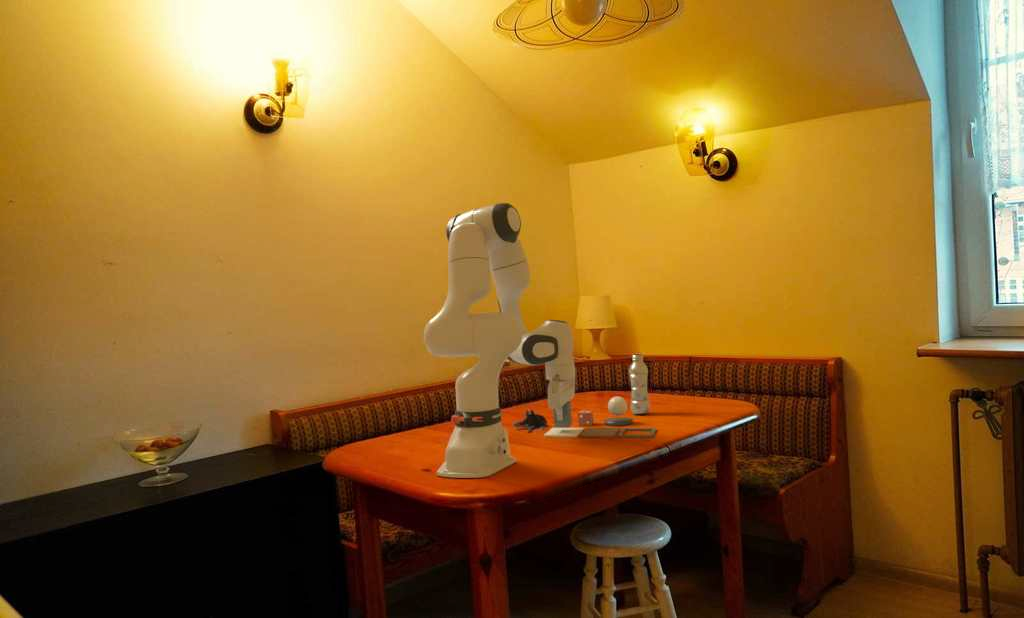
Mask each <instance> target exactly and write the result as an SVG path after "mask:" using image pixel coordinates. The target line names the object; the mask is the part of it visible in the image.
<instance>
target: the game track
mask: <svg viewBox="0 0 1024 618" xmlns="http://www.w3.org/2000/svg"><path fill="white" fill-rule="evenodd" d="M627 431H629V432H650V433H649V434H625V433H626V432H627ZM656 431H657V428H655V427H653V428H651V427H623V428H622V429H620V427H586V428H585V427H551V428H550V429H549V430H548V431H547V432H546V433H544V434H543V436H544V438H577V437H580V438H615V437H616V435H617V438H622V439H623V438H624V439H625V438H629V439H630V438H634V439H637V438H639V439H641V438H642V439H646V438H649V439H652V438H654V436H655V434H656Z"/></svg>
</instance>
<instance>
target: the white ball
mask: <svg viewBox="0 0 1024 618" xmlns="http://www.w3.org/2000/svg"><path fill="white" fill-rule="evenodd" d="M607 403H608V404H607V409H608V411H609V412H610V414H612V415H613V416H617V417H620V416H622V415H624V414H625V413H626V412H627V410H628V402H627V401H626V399H625V398H623V397H622V396H613V397H611V398H610V400H609V401H608V402H607Z"/></svg>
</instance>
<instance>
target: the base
mask: <svg viewBox="0 0 1024 618" xmlns="http://www.w3.org/2000/svg"><path fill="white" fill-rule="evenodd" d="M603 424H604V426H608V425H609V427H624V426H630V425H632V424H634V421H633V418H631V417H627V416H625V417H624V416H623V417H622V416H621V417H620V416H617V417H609V418H606V419H605V418H604V420H603Z"/></svg>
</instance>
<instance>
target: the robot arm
mask: <svg viewBox="0 0 1024 618" xmlns="http://www.w3.org/2000/svg"><path fill="white" fill-rule="evenodd" d="M521 227H522V221H521V217H520V214H519V212H518V209H516V207H515V206H513V205H512V204H511V203H509V202H508V203H507V202H500V203H495V204H494V205H493V204H492V205H486V206H483V207H476V208H473V209H471V210H468V211H466V212H464V213H460V214H455V216H453V217H451V218H450V219H449V220H448V223H447V226H446V229H445V234H446V238H447V241H448V247H447V249H448V250H447V265H448V269H447V270H448V290H447V296H446V299H445V301H444V304H443V305H442V307H441V308H440V310H439V311H438V312H437V313H436V314H435V316H434V317H432V318H431V319H429V321H427V323H426V325H425V327H424V331H423V337H422V338H423V343H424V345H425V348H426V350H427V351H428V352H429V353H430V354H431V355H432V356H437V357H441V358H442V357H443V358H458V357H459V358H460V357H476V358H478V359H477V363H476V364H475V365H474V366H472V367H471V368H468V369H467V370H465V371H463V373H461V374H460V375H459V376H458V377H457V378H456V381H455V384H454V387H455V400H456V401H455V402H456V404H455V405H456V410H455V411H454V415H451V418H450V420H451V422H450V423H452V424H454V428H453V431H452V433H451V435H450V437H449V440H448V443H447V446H446V448H445V461H443V463H442V464H441V466H440V467H439V468H438V470H436V475H437V476H440V477H443V478H444V477H445V478H458V479H459V478H461V479H463V478H464V479H465V478H466V479H468V478H469V479H471V478H473V479H475V478H486V477H490V476H492V475H494V474H496V473H498V472H500V471H502V470H504V469H505V468H507V467H509V466H511V465H513V464H514V463H516V462H517V461H516V457H515V456H512V455H511V451H510V443H509V442H510V441H509V436H508V434H509V433H508V429H506V427H504V425H503V424H502V422H501V421H502V409H501V407H500V405H499V404H500V403H499V402H500V401H499V381H500V380H499V379H500V374H501V370H502V369H503V366H504V364H505V362H506V361H507V360H508V361H509V362H511V363H513V364H514V365H516V364H517V365H527V366H540V365H542V364H544V365H545V366H544V367H545V380H547V381H550V382H549V383H548V385H547V404H548V405H547V406H548V409H550V410H551V409H552V410H553V409H555V411H556V414H557V420H558V421H562V420H563V419H564V414H563V406H564V405H565V404H566V403H567V402H571V400H572V399H574V398H575V394H576V393H575V392H576V375H577V367H575V360H574V359H575V358H574V356H573V355H574V354H573V352H574V338H573V332H572V328H571V325H570V323H569V322H567V321H566V320H559V319H558V320H557V319H547V320H545V321H544V322H543V324H541V325H540V326H539V327H538V328H536V329H533V330H532V331H530V332H528V330H527V329H526V326H525V324H524V320H523V316H522V310H521V304H520V299H521V297H522V295H523V293H524V292H525V291H526V290H527V288H528V287H529V285H530V283H531V271H530V266H529V263H528V260H527V257H526V253H525V250H524V247H523V245H522V243H521V240H520V238H519V236H520V232H521ZM491 276H492V278H491ZM492 280H493V283H494V287H495V292H496V298H497V299H496V300H497V304H498V308H499V312H483V313H470V312H469V311H470V308H471V307H472V306H473V305H474V304H476V303H479V302H480V301H482V300H483V299H484V298H486V297H487V296H488V295H489V293H490V291H491V289H492Z"/></svg>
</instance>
